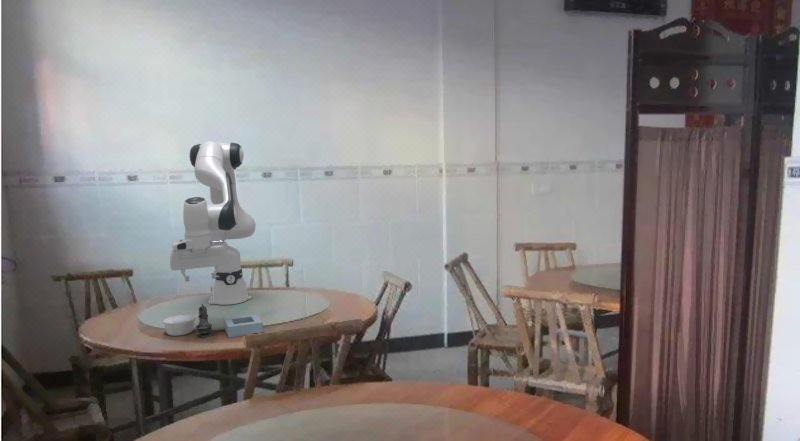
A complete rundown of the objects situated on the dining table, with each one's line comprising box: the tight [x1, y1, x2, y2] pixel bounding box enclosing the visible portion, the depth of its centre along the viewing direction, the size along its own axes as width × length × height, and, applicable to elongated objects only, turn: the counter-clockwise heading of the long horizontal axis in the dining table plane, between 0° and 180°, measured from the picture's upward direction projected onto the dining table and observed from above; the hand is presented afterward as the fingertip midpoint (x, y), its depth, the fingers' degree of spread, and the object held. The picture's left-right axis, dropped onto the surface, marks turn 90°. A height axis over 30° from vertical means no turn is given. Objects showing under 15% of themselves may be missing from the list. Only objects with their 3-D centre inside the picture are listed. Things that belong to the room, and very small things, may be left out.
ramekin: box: [163, 314, 196, 337], centre depth 236 cm, size 11×11×5 cm
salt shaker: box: [195, 303, 213, 339], centre depth 230 cm, size 6×6×12 cm
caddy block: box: [223, 313, 264, 339], centre depth 235 cm, size 12×12×4 cm
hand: (200, 279), depth 228 cm, fingers open, 8 cm apart
